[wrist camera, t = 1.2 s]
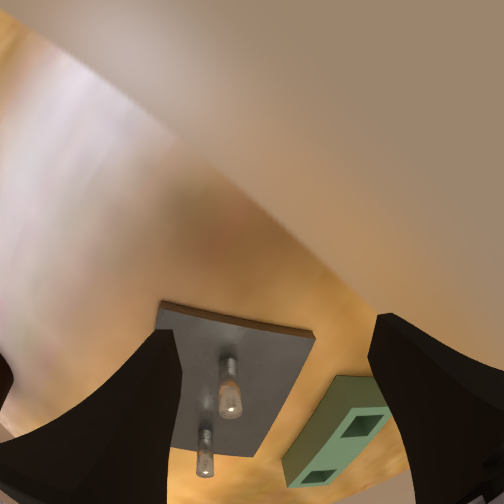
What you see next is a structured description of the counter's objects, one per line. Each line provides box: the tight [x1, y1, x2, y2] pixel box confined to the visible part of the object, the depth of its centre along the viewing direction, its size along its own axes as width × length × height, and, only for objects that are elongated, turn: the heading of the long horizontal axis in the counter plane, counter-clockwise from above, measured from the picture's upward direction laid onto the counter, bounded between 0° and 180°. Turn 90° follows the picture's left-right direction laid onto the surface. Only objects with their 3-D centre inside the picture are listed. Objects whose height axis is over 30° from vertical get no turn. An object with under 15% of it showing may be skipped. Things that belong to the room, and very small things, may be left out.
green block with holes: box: [281, 375, 392, 488], centre depth 23 cm, size 14×5×4 cm, turn 164°
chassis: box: [155, 301, 316, 478], centre depth 20 cm, size 16×11×6 cm
